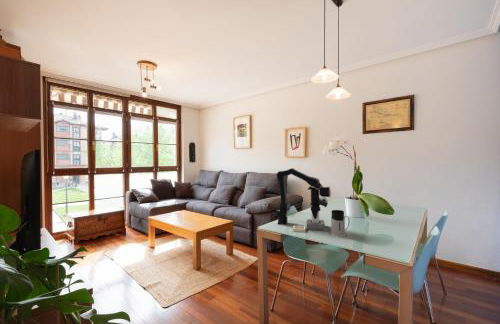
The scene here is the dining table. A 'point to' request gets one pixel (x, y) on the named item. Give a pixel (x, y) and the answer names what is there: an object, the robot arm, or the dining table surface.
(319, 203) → the robot arm
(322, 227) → the port
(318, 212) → the plug
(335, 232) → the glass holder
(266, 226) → the dining table surface
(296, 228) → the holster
